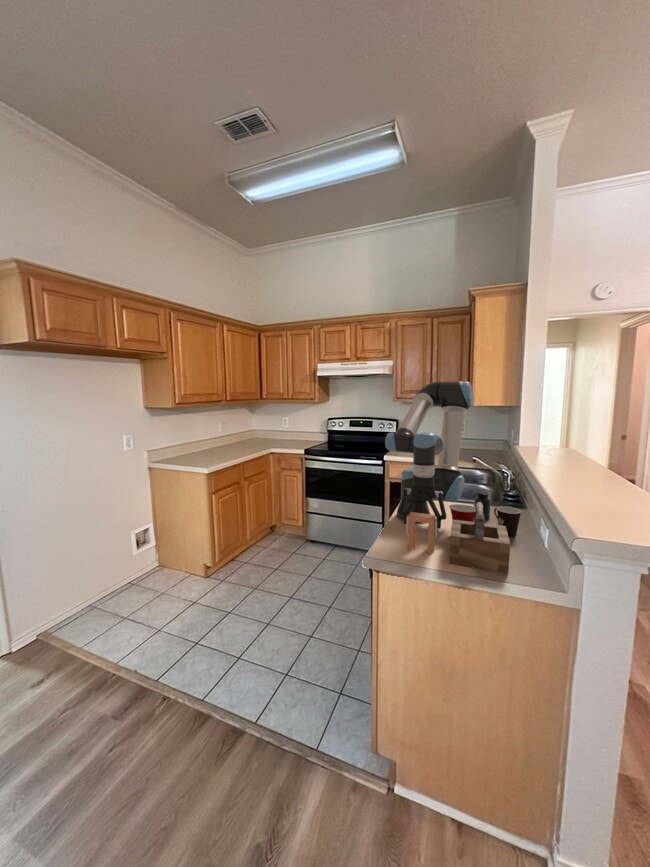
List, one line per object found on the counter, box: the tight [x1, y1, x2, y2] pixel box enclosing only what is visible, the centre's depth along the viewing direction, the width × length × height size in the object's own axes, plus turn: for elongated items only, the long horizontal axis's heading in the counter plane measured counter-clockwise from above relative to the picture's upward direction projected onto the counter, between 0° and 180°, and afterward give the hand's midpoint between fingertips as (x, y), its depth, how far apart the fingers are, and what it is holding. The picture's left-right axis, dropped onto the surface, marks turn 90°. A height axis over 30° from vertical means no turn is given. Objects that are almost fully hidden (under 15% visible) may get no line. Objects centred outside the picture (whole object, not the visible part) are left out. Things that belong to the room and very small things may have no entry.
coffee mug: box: [493, 506, 522, 538], centre depth 146 cm, size 12×9×10 cm
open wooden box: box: [448, 502, 511, 574], centre depth 123 cm, size 16×18×18 cm
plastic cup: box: [448, 503, 476, 522], centre depth 143 cm, size 11×11×12 cm
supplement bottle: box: [473, 490, 491, 521], centre depth 162 cm, size 7×7×12 cm
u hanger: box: [407, 512, 436, 554], centre depth 131 cm, size 4×9×13 cm, turn 68°
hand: (421, 534), depth 131 cm, fingers open, 9 cm apart
